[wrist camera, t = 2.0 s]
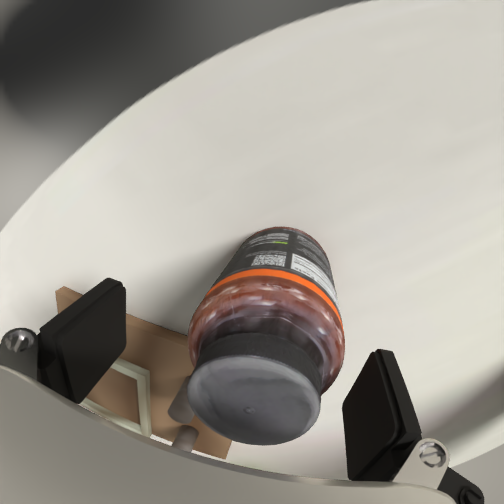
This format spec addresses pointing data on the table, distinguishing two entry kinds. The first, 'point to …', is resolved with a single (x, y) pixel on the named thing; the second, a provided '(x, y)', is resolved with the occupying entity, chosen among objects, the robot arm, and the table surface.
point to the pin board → (151, 387)
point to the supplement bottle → (266, 340)
